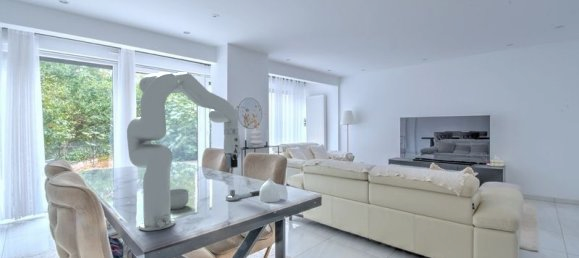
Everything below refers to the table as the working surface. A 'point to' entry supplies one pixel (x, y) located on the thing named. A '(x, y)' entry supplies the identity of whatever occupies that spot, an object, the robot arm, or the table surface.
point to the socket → (229, 161)
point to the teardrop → (269, 192)
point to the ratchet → (236, 197)
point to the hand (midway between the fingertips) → (231, 166)
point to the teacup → (178, 198)
